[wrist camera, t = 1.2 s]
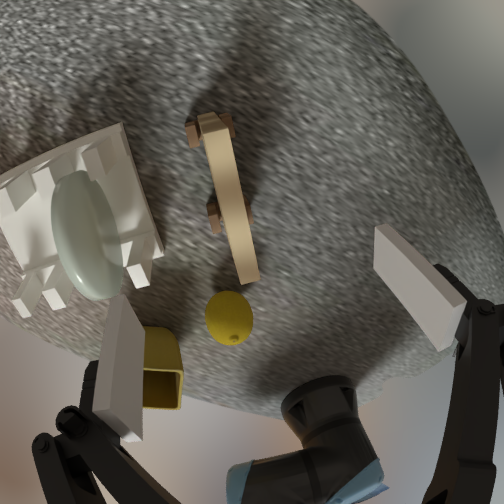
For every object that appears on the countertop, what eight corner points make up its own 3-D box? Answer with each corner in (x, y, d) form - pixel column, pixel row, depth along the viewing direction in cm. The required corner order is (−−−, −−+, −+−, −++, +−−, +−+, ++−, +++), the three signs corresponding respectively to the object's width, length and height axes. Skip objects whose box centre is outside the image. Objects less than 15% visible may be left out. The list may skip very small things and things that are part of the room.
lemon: (197, 284, 39) (202, 330, 32) (241, 273, 39) (255, 317, 32) (208, 316, 42) (215, 362, 35) (249, 306, 42) (262, 351, 35)
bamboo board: (238, 220, 35) (260, 279, 26) (223, 224, 35) (241, 285, 25) (213, 111, 28) (228, 128, 19) (196, 115, 28) (203, 134, 19)
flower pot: (119, 356, 43) (114, 406, 35) (115, 312, 38) (106, 365, 31) (177, 360, 45) (180, 410, 37) (181, 317, 41) (184, 370, 33)
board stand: (248, 211, 35) (253, 223, 32) (210, 220, 35) (213, 234, 32) (227, 112, 29) (231, 116, 27) (184, 123, 29) (184, 127, 26)
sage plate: (129, 253, 32) (113, 325, 23) (117, 256, 32) (98, 328, 23) (91, 155, 26) (49, 198, 17) (79, 160, 26) (33, 205, 17)
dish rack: (164, 250, 35) (162, 288, 29) (38, 286, 34) (20, 324, 28) (122, 121, 27) (105, 134, 21) (-13, 181, 26) (-46, 207, 20)
